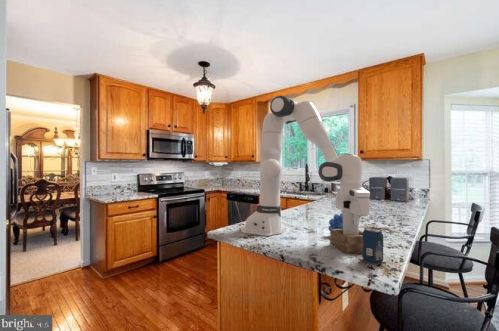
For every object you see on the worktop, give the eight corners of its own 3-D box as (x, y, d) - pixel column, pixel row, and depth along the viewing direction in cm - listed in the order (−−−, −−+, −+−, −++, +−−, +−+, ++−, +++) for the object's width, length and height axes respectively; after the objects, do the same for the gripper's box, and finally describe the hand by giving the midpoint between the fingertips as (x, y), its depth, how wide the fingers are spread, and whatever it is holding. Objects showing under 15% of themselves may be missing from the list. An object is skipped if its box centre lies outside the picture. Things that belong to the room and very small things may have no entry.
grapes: (349, 234, 122) (349, 211, 122) (353, 238, 115) (353, 214, 115) (326, 233, 124) (326, 210, 124) (329, 237, 117) (329, 213, 117)
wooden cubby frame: (344, 253, 95) (344, 236, 95) (330, 244, 106) (330, 229, 106) (371, 252, 97) (371, 235, 97) (355, 243, 108) (355, 228, 108)
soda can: (366, 256, 92) (366, 226, 92) (385, 261, 87) (386, 229, 87) (359, 261, 88) (359, 229, 88) (379, 267, 83) (379, 233, 83)
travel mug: (340, 246, 101) (340, 200, 101) (345, 242, 106) (346, 198, 106) (355, 249, 97) (356, 201, 97) (360, 245, 102) (360, 200, 102)
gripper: (331, 188, 112) (331, 217, 112) (358, 193, 91) (358, 228, 91) (344, 188, 113) (343, 217, 113) (372, 193, 92) (372, 228, 92)
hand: (350, 222), depth 102 cm, fingers closed on travel mug, 6 cm apart
